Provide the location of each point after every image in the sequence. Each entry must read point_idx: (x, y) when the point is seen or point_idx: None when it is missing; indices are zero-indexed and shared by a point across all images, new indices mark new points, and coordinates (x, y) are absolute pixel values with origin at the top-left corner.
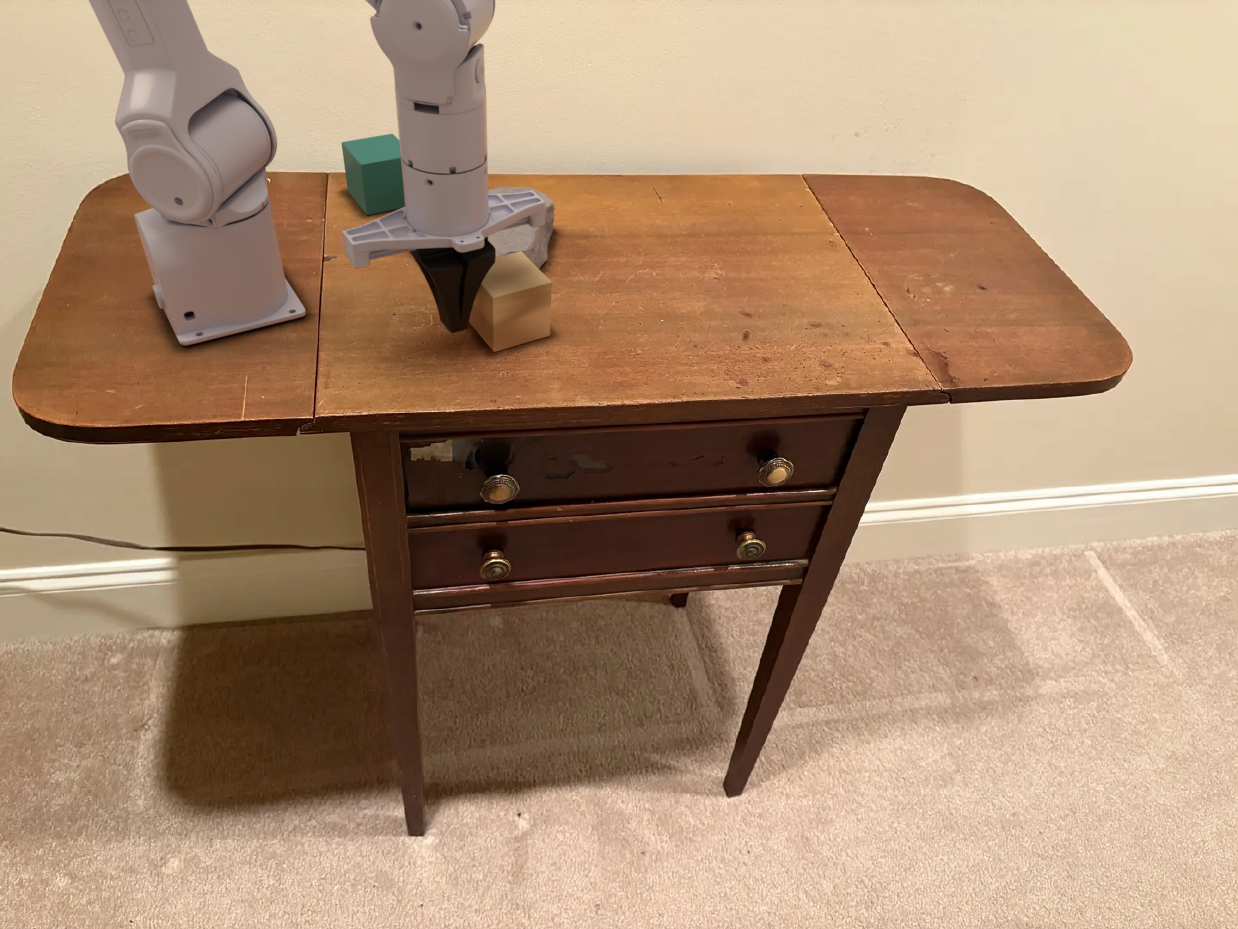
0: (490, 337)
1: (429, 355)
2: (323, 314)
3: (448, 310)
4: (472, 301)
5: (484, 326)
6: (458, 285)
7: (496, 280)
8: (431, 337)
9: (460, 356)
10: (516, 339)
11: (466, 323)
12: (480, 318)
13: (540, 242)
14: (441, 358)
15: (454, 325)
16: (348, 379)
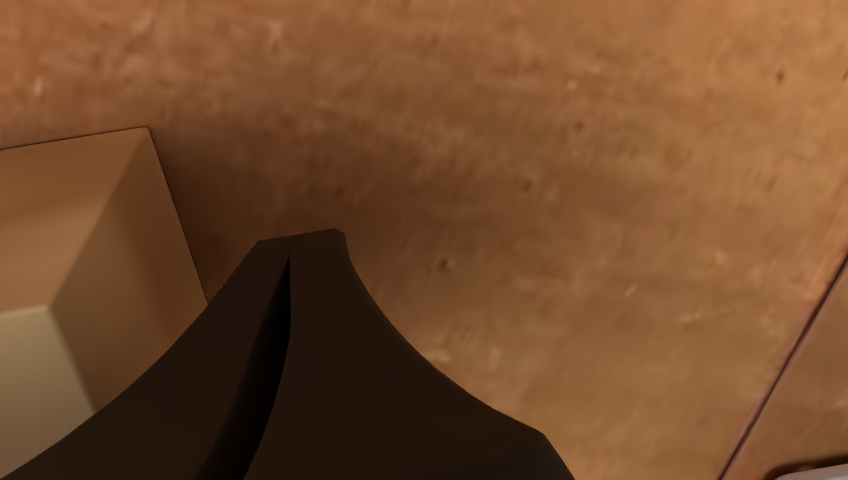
0: (145, 185)
1: (443, 181)
2: (710, 476)
3: (360, 291)
4: (198, 326)
5: (160, 254)
6: (286, 396)
7: (1, 460)
8: (398, 290)
9: (312, 139)
10: (11, 160)
11: (255, 253)
12: (170, 302)
13: None
14: (399, 148)
15: (325, 243)
16: (806, 116)
